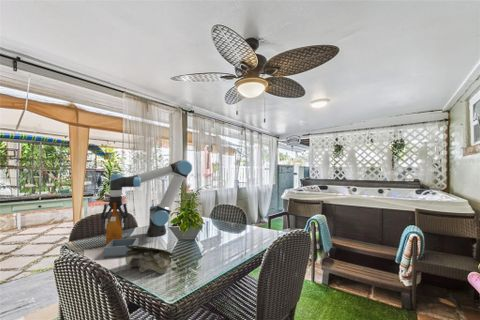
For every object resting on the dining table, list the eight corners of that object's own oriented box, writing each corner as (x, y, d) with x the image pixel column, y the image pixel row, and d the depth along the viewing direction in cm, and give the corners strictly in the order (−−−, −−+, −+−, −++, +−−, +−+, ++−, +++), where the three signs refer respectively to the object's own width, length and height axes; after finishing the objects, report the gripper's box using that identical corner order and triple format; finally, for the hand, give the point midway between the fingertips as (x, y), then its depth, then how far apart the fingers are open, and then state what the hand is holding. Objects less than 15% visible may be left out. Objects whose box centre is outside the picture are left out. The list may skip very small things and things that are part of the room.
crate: (138, 246, 146) (138, 237, 146) (133, 255, 131) (133, 245, 131) (112, 248, 142) (112, 239, 142) (103, 258, 126) (104, 247, 127)
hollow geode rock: (125, 273, 117) (108, 261, 108) (138, 251, 127) (124, 238, 118) (168, 281, 109) (154, 267, 99) (179, 256, 118) (166, 242, 109)
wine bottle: (102, 245, 147) (104, 201, 149) (116, 241, 156) (117, 200, 157) (111, 248, 143) (112, 203, 144) (124, 243, 151) (126, 201, 153)
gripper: (134, 194, 158) (133, 225, 156) (99, 195, 152) (98, 227, 150) (131, 196, 150) (130, 228, 149) (95, 196, 144) (94, 230, 143)
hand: (114, 227), depth 150 cm, fingers closed on wine bottle, 9 cm apart
